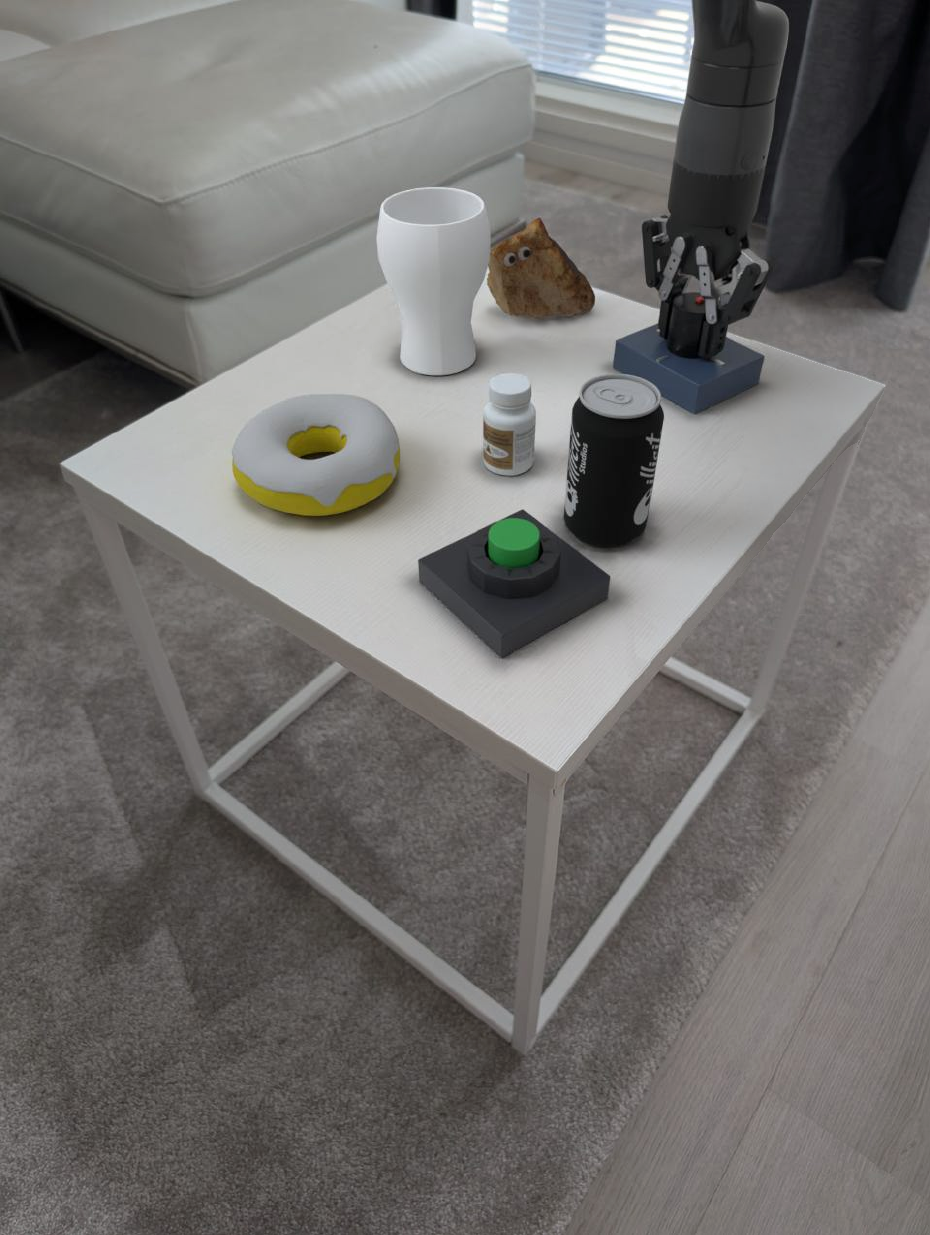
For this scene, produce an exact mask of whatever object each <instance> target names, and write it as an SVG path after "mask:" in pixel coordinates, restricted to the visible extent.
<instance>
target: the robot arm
mask: <svg viewBox="0 0 930 1235" xmlns="http://www.w3.org/2000/svg"><path fill="white" fill-rule="evenodd" d="M690 2H691V11H692V12H691V13H692V21H693V42H692V43H693V44H692V47H691V48H692V49H691V55H690V61H689V68H688V70H689V71H688V76H687V82H686V90H685V97H684V102H683V105H682V109H681V112H680V117H679V121H678V127H677V131H676V132H677V133H676V141H675V147H674V154H673V162H672V168H671V169H672V170H671V177H670V184H669V192H668V199H667V210H668V212H669V214H670V215H669V216H668V215H667V214H663V215H660V216H656V217H653V218H650V219H648V220H645V221H643V222H642V224H641V235H642V236H641V237H642V248H643V250H642V251H643V258H644V259H643V263H644V273H645V274H644V275H645V283H646V286H647V287H648V288H650V289H652V288H655V289H656V291H657V293H658V298H659V299H660V306H659V315H658V320H657V323H658V328H659V330H660V332H659V336H660V337H662V338H664V339H666V340H667V338H668V331H669V325H670V318H671V312H672V305H673V300H674V298H675V297H676V296H678V295H680V294H683V293H686V290H687V288H688V286H689V284H690V282H691V279H692V277H694V278H695V279H696V280H698V281H699V291H700V292H699V293H700V294H701V297H703V298H704V299H705V310H706V321H704V324H703V330H702V336H701V341H700V347H699V352H698V356H699V357H700V358H702V359H704V360H707V359H709V358H711V357H714V356H716V355H717V354H718V353H719V352H721V351H722V350H723V348H724V344H725V339H726V337H727V334H728V328H729V325H731V324H735V323H736V322H739V321H742V320H744V319H746V318H748V317H750V316H751V314H752V312H753V310H754V308H755V307H756V304H757V303H758V300H759V299H760V296H761V295H762V292H763V290H764V289H765V287H766V285H767V283H768V281H769V278H770V277H771V275H772V273H773V271H774V268H775V261H774V260H773V259H772V258H771V257H768V256H767V257H766V258H760V257H759V256H758V255H757V254H755V252H754V251H752V250H751V240H750V236H749V232H750V231H749V230H750V226H751V224H752V222H753V220H754V218H755V216H756V214H757V211H758V206H759V202H760V196H761V191H762V187H763V181H764V177H765V171H766V166H767V161H768V157H769V152H770V146H771V142H772V137H773V133H774V132H773V131H774V125H775V113H776V112H775V110H776V102H777V96H778V91H779V86H780V81H781V76H782V72H783V71H782V70H783V66H784V62H785V57H786V52H787V46H788V40H789V32H790V21H789V18H788V16H787V14H786V12H785V11H784V10H783V9H781V8H780V7H778V6H776V5H774V4H772V3H767V2H763V1H759V0H691V1H690ZM658 260H659V268H658ZM738 265H739V270H738V273H737V266H738ZM718 280H720V281H719V282H717V281H718ZM715 281H716V282H717V283H715ZM719 300H720V307H719Z"/></svg>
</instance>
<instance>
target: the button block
mask: <svg viewBox="0 0 930 1235" xmlns="http://www.w3.org/2000/svg"><path fill="white" fill-rule="evenodd" d="M509 518H518V519H524V520H527V521H529V522H531V523H533V524H534V525H535V526H536V527H537V528H538V530H539V532H540V542H539V555H538V558H537V560H536V561H535V562H534V563H533V564H531V565H529V566H527V567H522V568H511V569H510V568H507V567H503V566H499V565H497V564H495V563H494V562H493V561H492V560H491V558H490V557H489V552H488V550H489V530H490V528H491V527H492V526H493V525H494V524H495V523H497V522H498V521H501V520H504V519H509ZM417 566H418V580H419V583H420V584H421V585H423V587H425V588H426V590H428V591H429V592H430V593H431V594H432V595H434V597H435V598H436V599H438V601H440V603H442V604H443V605H444V606H445V607H446V608H447V609H448V610H449V611H451V613H452V614H453V615H454V616H456V618H458V619H459V620H460V621H461V622H462V623H463V624H464V625H465V626H467V627H468V628H469V629H470V630H471V631H472V633H474V634H475V635H476V636H477V637H478V638H479V639H480V640H481V641H482V642H483V643H485V644H486V645H487V647H489V648H490V649H491V650H492V651H493V652H494V653H495V654H496V655H497V656H498V657H500V658H504V657H506V656H508V655H509V654H511V653H514V652H515V651H517V650H519V649H520V648H522V647H524V646H526V645H527V644H529V643H531V642H533V641H535V640H536V639H538V638H540V637H542V636H543V635H545V634H547V633H549V632H550V631H552V630H554V629H556V628H557V627H559V626H561V625H563V624H564V623H567V622H568V621H569V620H572V619H573V618H575V617H577V616H579V615H581V614H583V613H584V612H586V611H588V610H589V609H591V608H593V607H594V606H596V605H598V604H600V603H602V602H603V601H605V600H607V599H608V598H609V593H610V592H609V591H610V584H611V575H610V574H608V573H607V572H606V571H604V570H603V569H602V568H600V567H599V566H598V565H597V564H595V563H594V562H592V561H591V560H590V559H589V558H587V557H586V556H585V555H584V554H582V553H581V552H579V551H578V550H577V549H576V548H575V547H573V546H572V545H571V544H569V543H568V542H566V541H565V540H564V539H563V538H561V537H560V536H559V535H558V534H556V533H555V532H554V531H552V530H551V529H550V528H548V527H547V526H546V525H544V523H542V522H540V521H539V520H538V519H537V518H535V517H534V516H533V515H531V514H530V513H529V512H527V511H526V510H525V509H523V508H522V509H520V510H518V511H516V512H514V513H512V514H509V515H508V516H505V517H504V518H501V519H499V520H497V521H494V522H491V523H489V524H488V525H486V526H484V527H482V528H480V529H478V530H476V531H474V532H472V533H470V534H468V535H466V536H464V537H462V538H460V539H458V540H456V541H453V542H452V543H450V544H447V545H445V546H443V547H441V548H439V549H436V550H435V551H433V552H430V553H428V554H427V555H425V556H422V557H421V558H419V559H418V560H417Z"/></svg>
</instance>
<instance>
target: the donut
mask: <svg viewBox="0 0 930 1235" xmlns="http://www.w3.org/2000/svg"><path fill="white" fill-rule="evenodd" d="M316 453H332V454H329V455H326V456H323V457H320V458H316V459H304V458H301V457H303V456H307V455H311V454H316ZM231 455H232V461H231V466H232V473H233V477H234V479H235V481H236V483H237V485H238V486H239V488H240V489H241V490H242V491H243V492H244V493H245V494H246V495H247V496H248V497H250V498H251V499H253V500H255V501H256V502H257V503H259V504H261V505H263V506H264V507H266V508H269V509H272V510H276V511H280V512H283V513H286V514H293V515H299V516H309V517H310V516H311V517H320V516H321V517H323V516H324V517H325V516H331V515H333V516H334V515H337V514H342V513H345V512H349V511H352V510H354V509H357V508H359V507H361V506H364V505H366V504H368V503H370V502H371V501H373V500H376V499H377V498H378V497H379V496H381V495H382V494H383V493H384V492H385V491H386V490H388V488H389V487H390V486H391V485H392V483H393V482H394V480H395V477H396V476H397V473H398V471H399V466H400V462H401V446H400V439H399V436H398V433H397V430H396V427H395V425H394V424H393V422H392V421H391V419H390V418H389V416H388V415H387V413H386V412H385V411H384V410H383V409H382V407H380V406H379V405H378V404H376V403H374V402H373V401H371V400H370V399H367V398H364V397H362V396H357V395H351V394H340V393H315V394H314V393H313V394H305V395H299V396H294V397H290V398H287V399H285V400H282V401H280V402H277V403H274V404H273V405H271V406H269V407H267V408H265V409H263V410H261V411H259V412H258V413H257V414H255V415H254V416H253V417H252V418H250V419H249V420H248V421H247V422H246V423H245V425H243V427H242V429H241V430H240V431H239V433H238V435H237V437H236V438H235V441H234V443H233V446H232V448H231Z"/></svg>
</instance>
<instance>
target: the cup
mask: <svg viewBox="0 0 930 1235" xmlns="http://www.w3.org/2000/svg"><path fill="white" fill-rule="evenodd" d="M488 217H489V216H488V212H487V209H486V203H485V202H484V201H483V199H482V197H480V196H478V195H477V194H475V193H473V192H471V191H469V190H464V189H461V188H455V187H444V186H427V187H415V188H411V189H407V190H402V191H399V192H397V193H393V194H392V195H390V196H388V197H386V198H385V200H383V201H382V202H381V204H380V209H379V215H378V222H377V229H376V237H375V238H376V250H377V259H378V262H379V265H380V268H381V270H382V273H383V276H384V278H385V281H386V283H387V286H388V287H389V289H390V291H391V292H392V294H393V296H394V297H395V299H396V301H397V302H398V305H399V311H400V316H401V321H402V333H401V342H400V355H399V358H400V361H401V364H402V365H403V366H404V367H405V368H406V369H407V370H410V371H412V372H413V373H418V374H420V375H429V376H446V375H452V374H457V373H459V372H462V371H464V370H466V369H468V368H469V367H471V366H472V365H473V364H474V362H475V360H476V359H477V350H476V344H475V343H476V342H475V338H474V332H473V326H472V316H473V308H474V300H475V298H476V296H477V294H478V292H479V291H480V289H481V287H482V285H483V283H484V281H485V278H486V275H487V271H488V269H489V268H488V264H489V261H490V252H491V246H492V245H491V241H492V240H491V237H492V236H491V235H492V234H491V231H492V230H491V226H490V222H489V218H488Z"/></svg>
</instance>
